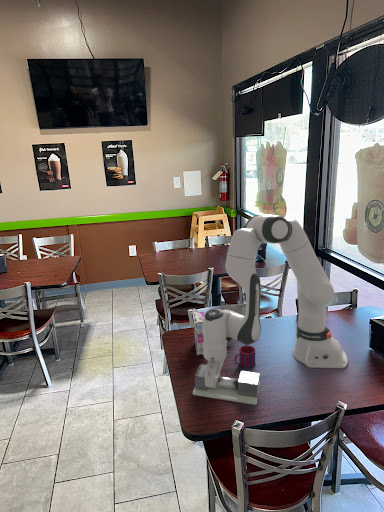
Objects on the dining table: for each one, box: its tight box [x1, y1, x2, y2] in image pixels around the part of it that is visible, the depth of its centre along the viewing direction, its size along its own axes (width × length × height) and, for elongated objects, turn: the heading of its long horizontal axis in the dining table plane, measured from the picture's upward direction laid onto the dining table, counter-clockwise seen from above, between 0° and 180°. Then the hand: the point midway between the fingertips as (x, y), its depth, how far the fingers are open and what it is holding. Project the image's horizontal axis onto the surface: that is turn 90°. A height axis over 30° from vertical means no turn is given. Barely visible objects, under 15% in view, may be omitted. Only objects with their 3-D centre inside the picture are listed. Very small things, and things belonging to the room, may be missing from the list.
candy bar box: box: [193, 311, 205, 356], centre depth 164 cm, size 11×5×16 cm, turn 3°
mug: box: [234, 344, 256, 369], centre depth 152 cm, size 7×10×7 cm
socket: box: [194, 363, 207, 391], centre depth 139 cm, size 4×8×6 cm, turn 164°
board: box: [192, 381, 261, 406], centre depth 138 cm, size 24×12×1 cm, turn 74°
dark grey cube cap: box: [238, 370, 260, 399], centre depth 134 cm, size 7×7×6 cm
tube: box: [217, 375, 239, 390], centre depth 137 cm, size 15×4×4 cm, turn 74°
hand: (215, 382), depth 138 cm, fingers closed on tube, 4 cm apart
